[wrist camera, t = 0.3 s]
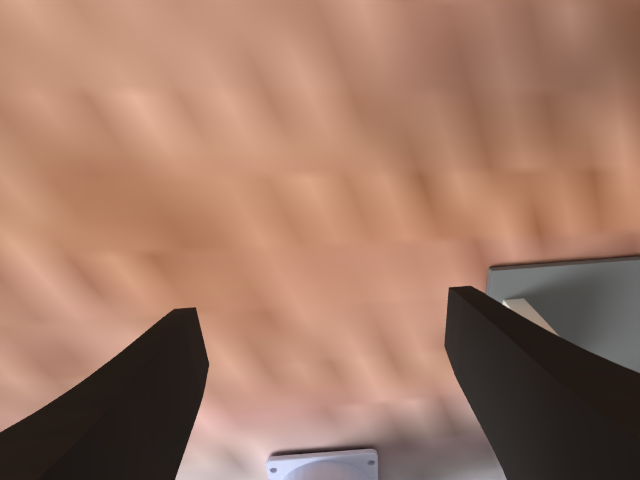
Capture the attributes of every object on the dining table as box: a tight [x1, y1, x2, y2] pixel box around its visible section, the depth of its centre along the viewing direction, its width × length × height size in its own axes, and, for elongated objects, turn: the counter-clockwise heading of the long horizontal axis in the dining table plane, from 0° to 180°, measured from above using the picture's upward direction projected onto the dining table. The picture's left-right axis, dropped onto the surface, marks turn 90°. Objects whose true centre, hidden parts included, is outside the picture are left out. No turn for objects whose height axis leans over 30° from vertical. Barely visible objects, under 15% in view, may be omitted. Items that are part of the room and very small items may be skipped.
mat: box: [485, 256, 640, 373], centre depth 24 cm, size 10×13×1 cm
